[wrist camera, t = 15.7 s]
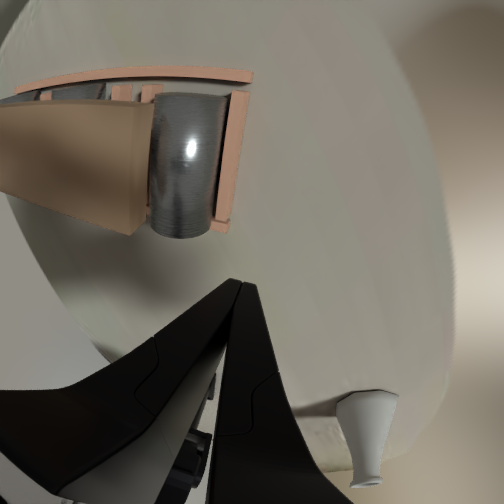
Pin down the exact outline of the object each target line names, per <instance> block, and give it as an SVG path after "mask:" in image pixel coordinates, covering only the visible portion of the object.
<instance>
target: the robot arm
mask: <svg viewBox="0 0 504 504" xmlns="http://www.w3.org/2000/svg"><path fill="white" fill-rule="evenodd" d="M225 348H226V353H225V360H224V367H223V374H222V381H221V388H220V395H219V402H218V409H217V416H216V424H215V431H214V439H213V446H212V454H211V461H210V469H209V477H208V485H207V493H206V501H205V504H354V503H353V502H351V501H350V500H349V499H348V498H347V497H346V496H345V495H344V494H343V493H342V492H341V491H340V490H339V489H338V488H337V487H335V486H334V485H333V484H332V483H331V482H330V481H329V480H328V479H327V478H326V477H325V476H324V475H323V473H322V472H321V471H320V469H319V468H318V466H317V465H316V463H315V461H314V459H313V457H312V455H311V453H310V451H309V449H308V447H307V444H306V442H305V440H304V438H303V435H302V433H301V431H300V429H299V426H298V424H297V422H296V420H295V417H294V415H293V412H292V410H291V407H290V405H289V402H288V400H287V397H286V393H285V390H284V387H283V384H282V380H281V376H280V373H279V372H278V371H279V369H278V365H277V362H276V358H275V354H274V350H273V346H272V343H271V339H270V335H269V331H268V327H267V324H266V320H265V316H264V312H263V308H262V305H261V301H260V297H259V293H258V289H257V286H256V285H255V284H253V283H248V282H243V283H242V281H240V280H236V279H232V278H229V279H227V280H226V281H225V282H223V283H222V284H221V285H220V286H218V287H217V288H216V289H214V290H213V291H212V292H210V293H209V294H208V295H206V296H205V297H204V298H202V299H201V300H200V301H198V302H197V303H196V304H194V305H193V306H192V307H191V308H189V309H188V310H187V311H185V312H184V313H183V314H181V315H180V316H179V317H177V318H176V319H175V320H173V321H172V322H171V323H169V324H168V325H167V326H165V327H164V328H163V329H161V330H160V331H159V332H157V333H156V334H155V335H154V337H150V338H149V339H148V340H147V341H145V342H144V343H142V344H141V345H140V346H138V347H137V348H135V349H134V350H132V351H131V352H130V353H128V354H126V355H125V356H123V357H121V358H120V359H118V360H117V361H115V362H113V363H111V364H110V365H108V366H106V367H104V368H103V369H101V370H99V371H97V372H95V373H94V374H92V375H90V376H88V377H86V378H85V379H83V380H81V381H79V382H77V383H75V384H73V385H70V386H67V387H64V388H59V389H49V390H0V504H184V503H185V502H186V500H187V497H188V495H189V492H190V490H191V488H197V487H198V485H199V483H200V482H201V479H202V477H203V474H204V471H205V467H206V463H207V458H208V454H209V449H210V444H211V439H212V434H210V433H204V432H201V431H199V430H197V427H198V424H199V421H200V418H201V415H202V412H203V409H204V407H205V404H206V401H207V399H208V400H213V398H214V391H215V383H216V373H215V371H216V369H217V367H218V365H219V362H220V360H221V358H222V356H223V353H224V351H225Z"/></svg>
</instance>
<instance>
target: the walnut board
mask: <svg viewBox="0 0 504 504" xmlns="http://www.w3.org/2000/svg"><path fill="white" fill-rule="evenodd" d="M153 111H154V103H144V102H133V101H118V100H91V99H67V100H41V101H28V102H17V103H8V104H0V191H1V192H3V193H6V194H9V195H12V196H14V197H17V198H20V199H23V200H25V201H28V202H31V203H34V204H37V205H39V206H42V207H45V208H48V209H51V210H54V211H57V212H60V213H62V214H65V215H68V216H71V217H74V218H77V219H80V220H83V221H86V222H89V223H92V224H95V225H98V226H101V227H104V228H107V229H110V230H113V231H116V232H119V233H122V234H125V235H128V236H130V235H131V234H132V233H134V232H135V231H136V230H137V229H138V228H139V227H140V226H141V225H142V224H143V223H144V222H145V221H146V196H147V175H148V160H149V148H150V137H151V128H152V119H153Z"/></svg>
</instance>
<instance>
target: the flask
mask: <svg viewBox="0 0 504 504" xmlns="http://www.w3.org/2000/svg"><path fill="white" fill-rule="evenodd" d="M398 397H399V396H398V395H395V394H392V393H388V392H385V391H382V390H381V391H370V392H358V393H353V394H352V395H350V396H348V397H347V398H345V399H343V400H341V401H340V402H338V403H337V405H336V413H335V414H336V416H337V419H338V422H339V424H340V426H341V429H342V431H343V434H344V436H345V439H346V442H347V445H348V447H349V450H350V453H351V457H352V463H353V469H354V472H353V481H352V482H351V483H350V487H351V488H362V487H371V486H375V485H379V484H381V483H382V482H383V480H382V477H380V463H381V458H382V452H383V448H384V445H385V441H386V438H387V435H388V432H389V428H390V425H391V422H392V418H393V415H394V412H395V408H396V405H397V401H398Z"/></svg>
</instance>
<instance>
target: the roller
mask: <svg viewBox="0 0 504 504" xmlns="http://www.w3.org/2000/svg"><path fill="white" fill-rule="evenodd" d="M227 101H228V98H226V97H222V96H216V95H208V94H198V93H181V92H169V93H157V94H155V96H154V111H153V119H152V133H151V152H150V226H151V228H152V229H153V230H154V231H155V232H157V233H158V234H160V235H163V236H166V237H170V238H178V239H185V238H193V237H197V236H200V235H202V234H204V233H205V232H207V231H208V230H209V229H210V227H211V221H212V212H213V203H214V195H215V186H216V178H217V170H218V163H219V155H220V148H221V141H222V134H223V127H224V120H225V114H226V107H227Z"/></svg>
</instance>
